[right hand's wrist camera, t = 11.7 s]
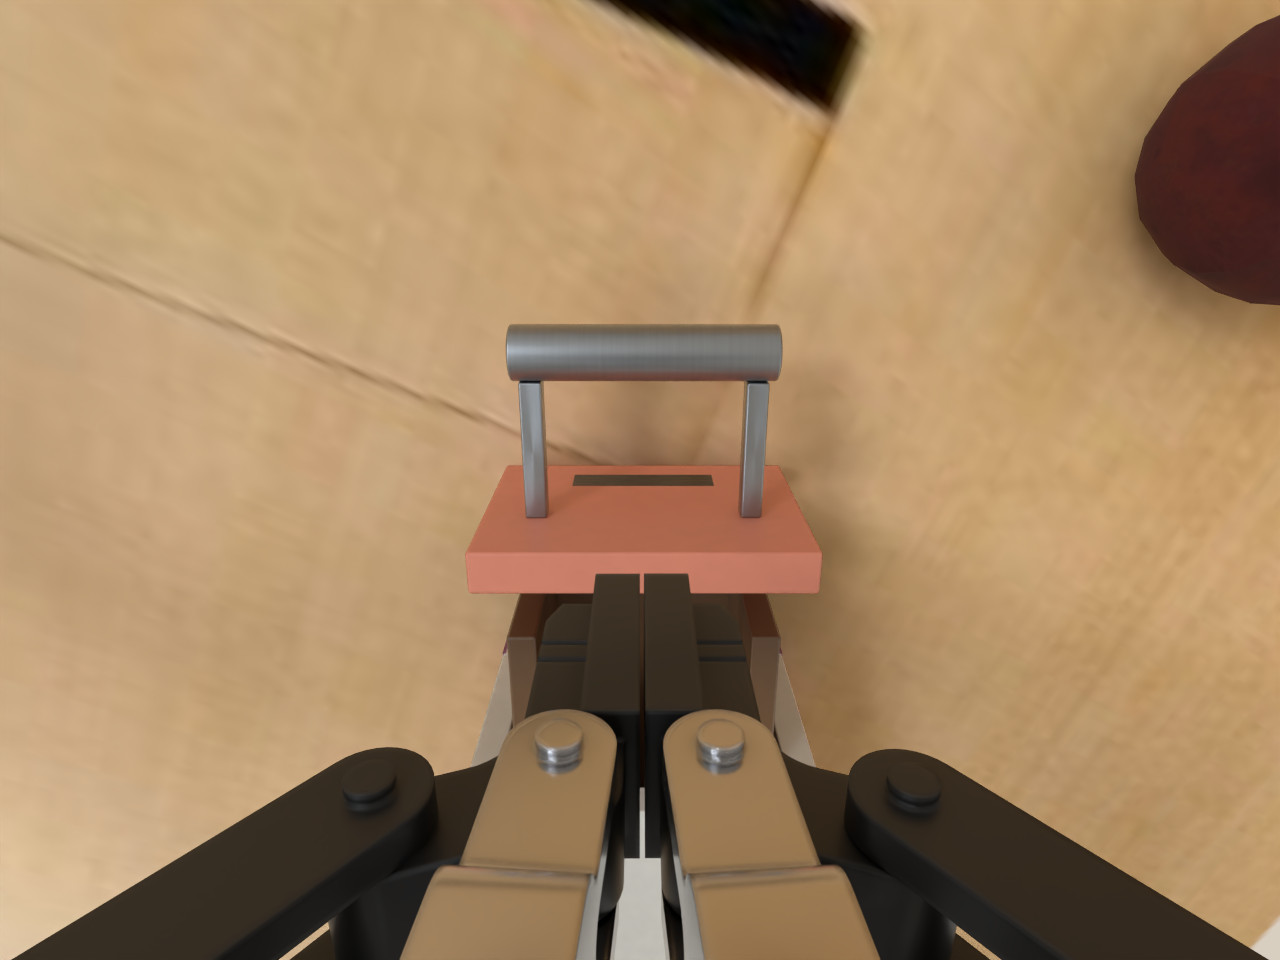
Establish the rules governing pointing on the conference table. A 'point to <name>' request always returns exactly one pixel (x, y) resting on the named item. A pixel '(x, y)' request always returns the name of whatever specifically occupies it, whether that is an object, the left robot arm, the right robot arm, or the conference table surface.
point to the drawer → (644, 499)
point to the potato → (1220, 171)
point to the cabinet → (641, 814)
